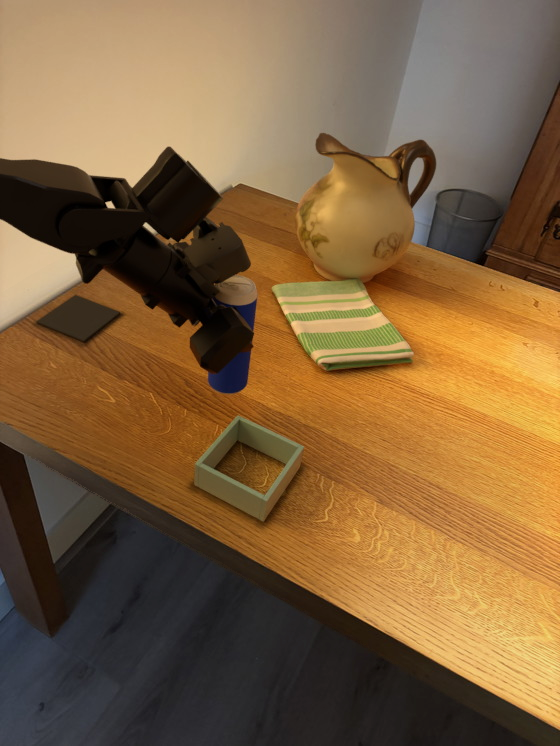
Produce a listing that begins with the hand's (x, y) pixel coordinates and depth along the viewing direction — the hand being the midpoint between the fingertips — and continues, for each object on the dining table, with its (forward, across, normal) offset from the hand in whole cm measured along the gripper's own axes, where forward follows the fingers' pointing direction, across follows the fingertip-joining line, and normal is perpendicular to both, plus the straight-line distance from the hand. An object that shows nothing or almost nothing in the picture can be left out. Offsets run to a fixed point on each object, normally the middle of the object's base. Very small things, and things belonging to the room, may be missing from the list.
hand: (241, 335), depth 67 cm
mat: (-1, +28, +20) cm, 34 cm away
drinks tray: (+8, -11, +11) cm, 17 cm away
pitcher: (+35, +30, -17) cm, 49 cm away
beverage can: (+4, 0, +6) cm, 8 cm away
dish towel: (+27, +13, -8) cm, 31 cm away
